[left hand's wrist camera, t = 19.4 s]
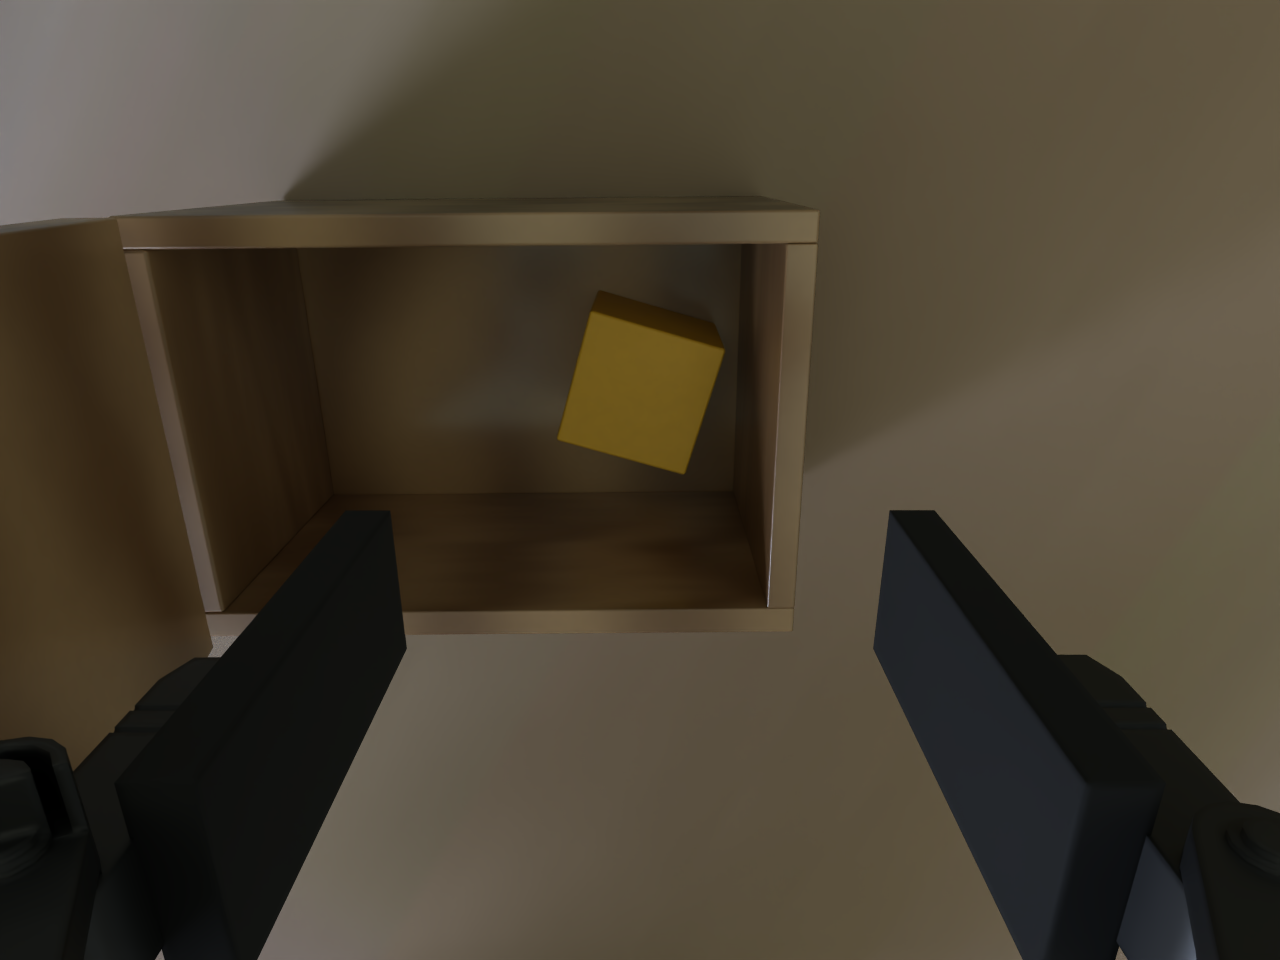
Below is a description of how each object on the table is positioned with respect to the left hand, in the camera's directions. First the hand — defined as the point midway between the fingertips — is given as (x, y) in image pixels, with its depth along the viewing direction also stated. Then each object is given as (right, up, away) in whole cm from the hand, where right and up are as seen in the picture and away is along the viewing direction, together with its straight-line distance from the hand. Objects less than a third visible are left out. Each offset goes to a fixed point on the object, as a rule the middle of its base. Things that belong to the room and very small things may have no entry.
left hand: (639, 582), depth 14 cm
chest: (-4, +6, +16) cm, 18 cm away
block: (0, +6, +15) cm, 17 cm away
